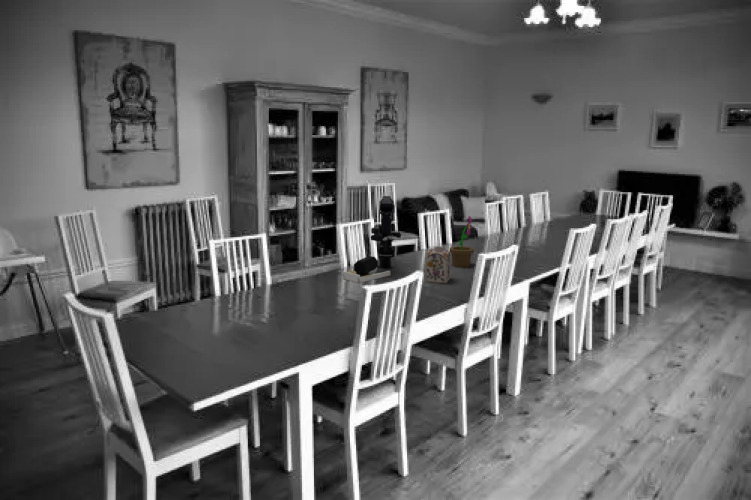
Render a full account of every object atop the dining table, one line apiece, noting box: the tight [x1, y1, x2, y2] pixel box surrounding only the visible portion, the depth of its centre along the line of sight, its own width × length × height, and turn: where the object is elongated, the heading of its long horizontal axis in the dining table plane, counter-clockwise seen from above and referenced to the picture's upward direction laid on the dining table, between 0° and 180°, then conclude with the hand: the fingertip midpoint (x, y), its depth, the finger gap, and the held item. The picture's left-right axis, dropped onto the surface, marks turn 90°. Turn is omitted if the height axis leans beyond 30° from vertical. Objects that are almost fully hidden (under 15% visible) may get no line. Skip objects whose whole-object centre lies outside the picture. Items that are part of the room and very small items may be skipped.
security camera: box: [353, 255, 379, 277], centre depth 310 cm, size 7×18×10 cm, turn 154°
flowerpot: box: [449, 215, 475, 269], centre depth 340 cm, size 14×14×30 cm
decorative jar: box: [424, 245, 452, 284], centre depth 307 cm, size 12×12×18 cm
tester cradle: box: [342, 268, 391, 284], centre depth 312 cm, size 24×12×5 cm, turn 136°
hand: (385, 251), depth 321 cm, fingers closed
